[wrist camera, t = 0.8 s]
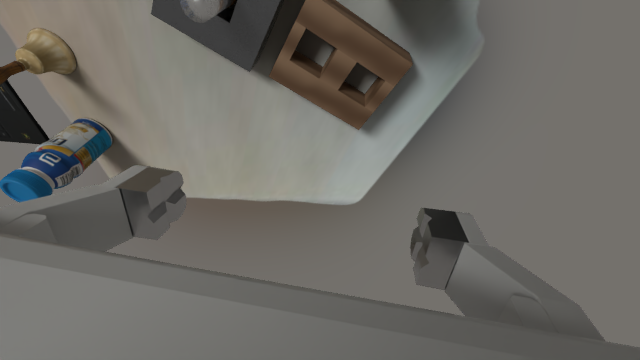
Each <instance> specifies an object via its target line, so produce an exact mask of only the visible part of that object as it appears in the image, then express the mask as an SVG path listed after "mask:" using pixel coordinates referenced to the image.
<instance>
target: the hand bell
mask: <svg viewBox="0 0 640 360" xmlns="http://www.w3.org/2000/svg"><path fill="white" fill-rule="evenodd" d="M15 56H16V59H17V61H14V62H12V63H10V64H7V65H5V66H3V67H0V84H2V83H3V82H5V81H6V80H7V79H8V78H9V77H10V76H11V75H14V74H16V73H19V72H22V71H24V70H27V71H29V72H31V73H34V74H42V73H46V72H51V71H53V72H55V73H59V74H70V73H72V72H73V71H74V70H75V69H76V60H75V57H74V54H73V52H72V51H71V49H70V48H69V46H68V45H67V44H66V43H65V42H64V41H63V40H62V39H61V38H60V37H58V36H57V35H55V34H54V33H52V32H50V31H48V30H45V29H41V28H35V29H32V30H31V31H30V32H29V33H28V36H27V44H25V45H24V46H23V47H21V48H19V49H18V50H17V51H16V53H15Z"/></svg>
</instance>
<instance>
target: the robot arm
mask: <svg viewBox="0 0 640 360" xmlns="http://www.w3.org/2000/svg"><path fill="white" fill-rule="evenodd" d="M182 185H183V178H182V175H181V174H180V173H179V172H178V171H172V170H166V169H160V168H154V167H149V166H141V165H134V166H132V167H130V168H128V169H127V170H125V171H123V172H122V173H120V174H118V175H117V176H115V177H113V178H111V179H110V180H108V181H106V182H105V183H103V184H101V185H92V186H88V187H84V188H80V189H75V190H71V191H67V192H62V193H58V194H54V195H49V196H45V197H41V198H37V199H32V200H28V201H24V202H19V203H15V204H11V205H7V206H2V207H0V360H640V348H639V347H634V346H628V345H623V344H617V343H611V342H606V341H605V340H604V338H603V337H602V336H601V334H600V333H599V332H598V330H597V329H596V327H595V326H594V325H593V323H592V322H591V321H590V319H589V318H588V317H587V315H586V314H585V313H584V311H583V310H582V308H581V307H580V306H579V305H578V304H577V303H575V302H574V301H572V300H571V299H569V298H568V297H566V296H565V295H563V294H562V293H561V292H559V291H558V290H556V289H555V288H553V287H552V286H550V285H549V284H548V283H546V282H545V281H543V280H542V279H540V278H539V277H537V276H536V275H534V274H533V273H532V272H530V271H528V270H527V269H526V268H524V267H523V266H521V265H520V264H519V263H517V262H516V261H514V260H512V259H511V258H510V257H508V256H507V255H505V254H504V253H503V252H501V251H500V250H498V249H497V248H495V247H491V246H489V244H488V243H487V241H486V239H485V237H484V235H483V233H482V232H481V230H480V228H479V226H478V224H477V222H476V221H475V219H474V217H473V215H471V214H470V213H461V212H453V211H445V210H436V209H428V208H421V209H420V211H419V213H418V216H417V222H418V227H417V228H415V229H414V230H413V234H412V238H411V246H410V249H411V258H412V259H413V260H414V261H415V264H414V267H413V270H414V275H415V281H416V284H417V285H422V286H426V287H431V288H436V289H441V290H445V292H446V294H447V295H448V296H449V297H450V298H451V300H452V301H453V302H454V303H455V304H456V305H457V307H458V308H459V309H460V310H461V311H462V313H463V314H464V315H465V316H461V315H455V314H450V313H444V312H438V311H433V310H428V309H422V308H416V307H411V306H405V305H400V304H394V303H388V302H382V301H377V300H371V299H366V298H360V297H355V296H349V295H343V294H338V293H332V292H327V291H321V290H316V289H310V288H304V287H299V286H293V285H288V284H282V283H276V282H271V281H265V280H260V279H254V278H249V277H243V276H238V275H231V274H226V273H221V272H215V271H210V270H204V269H199V268H193V267H187V266H182V265H176V264H170V263H165V262H160V261H154V260H148V259H142V258H137V257H132V256H126V255H120V254H115V253H109V252H105V251H107V250H109V249H111V248H113V247H115V246H117V245H119V244H121V243H123V242H125V241H127V240H129V239H131V238H133V237H139V238H147V239H154V240H158V239H159V238H160V237H161V236H162V235H163V234H164V233H165V232H166V231H167V230H168V229H169V228H170V223H171V222H173V221H176V220H178V219H179V218H180V217H181V215H182V214H183V212H184V210H185V207H186V196H185V193H184V192H183V191H182V190H181V189H180V188H181V186H182Z"/></svg>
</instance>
